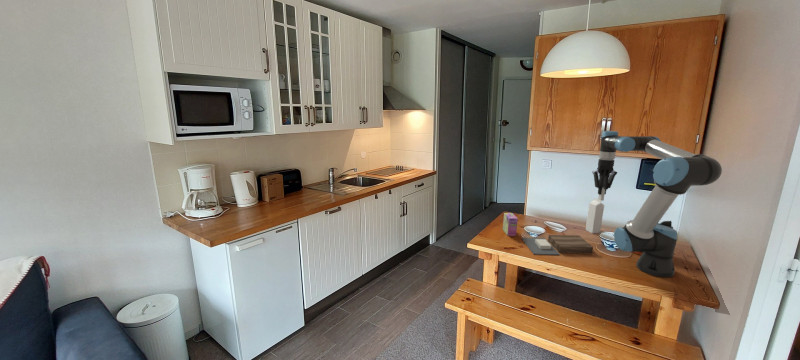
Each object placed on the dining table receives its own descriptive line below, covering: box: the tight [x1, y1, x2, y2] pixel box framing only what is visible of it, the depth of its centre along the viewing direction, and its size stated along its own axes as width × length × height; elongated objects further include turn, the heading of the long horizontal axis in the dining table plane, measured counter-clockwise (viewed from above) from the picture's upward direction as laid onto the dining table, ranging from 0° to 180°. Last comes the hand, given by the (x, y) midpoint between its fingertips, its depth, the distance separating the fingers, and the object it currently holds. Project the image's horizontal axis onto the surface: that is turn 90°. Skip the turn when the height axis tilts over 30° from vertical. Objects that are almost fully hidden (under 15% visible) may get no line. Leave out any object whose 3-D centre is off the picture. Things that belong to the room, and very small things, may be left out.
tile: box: [535, 238, 551, 249], centre depth 190 cm, size 9×6×2 cm, turn 177°
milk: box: [585, 197, 605, 234], centre depth 211 cm, size 6×6×22 cm
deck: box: [547, 234, 594, 255], centre depth 190 cm, size 16×18×4 cm
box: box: [502, 212, 519, 237], centre depth 210 cm, size 10×6×12 cm, turn 179°
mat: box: [521, 237, 561, 256], centre depth 191 cm, size 22×14×1 cm, turn 177°
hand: (600, 199), depth 187 cm, fingers closed
